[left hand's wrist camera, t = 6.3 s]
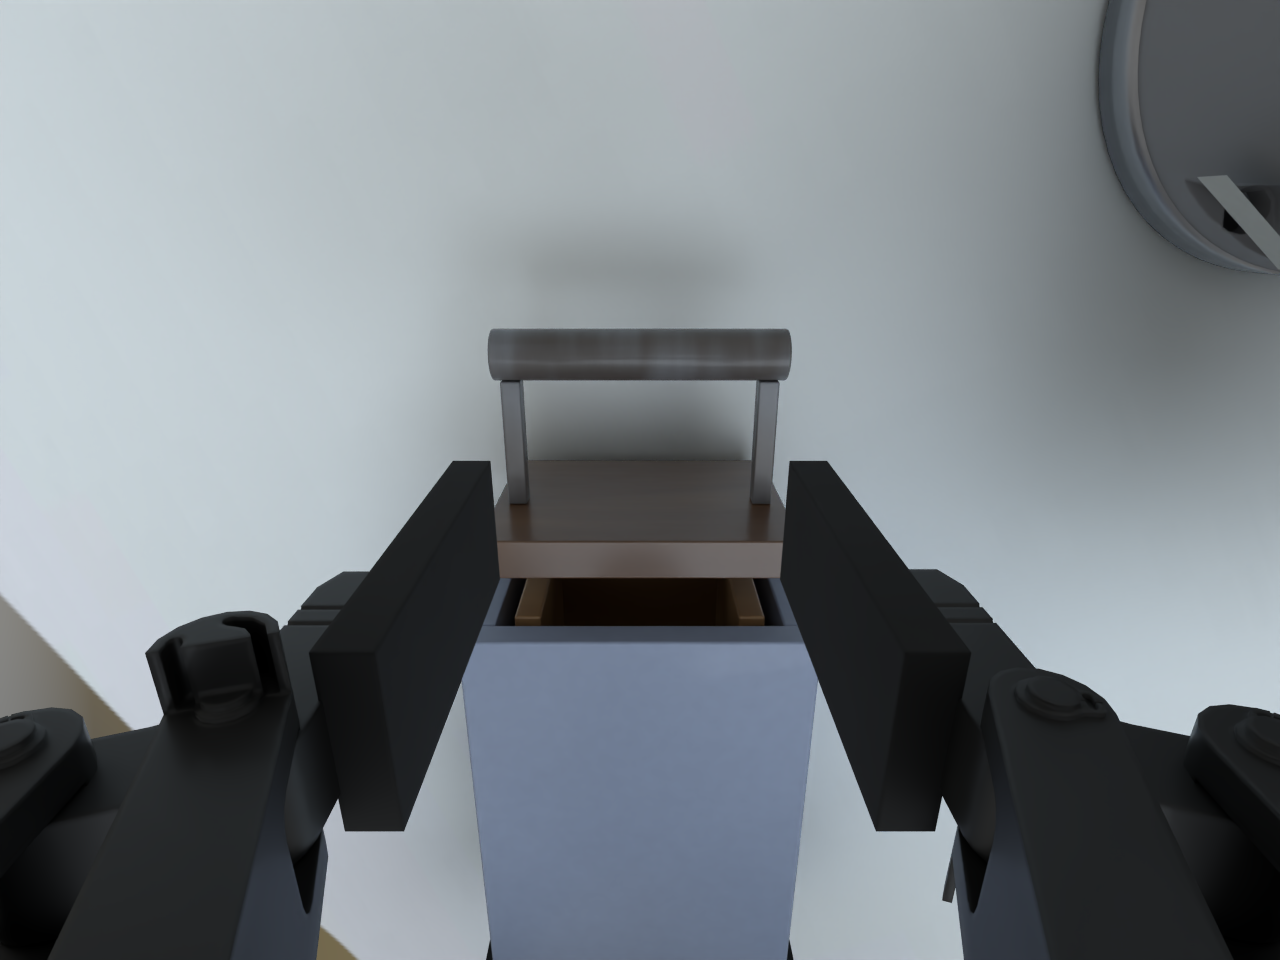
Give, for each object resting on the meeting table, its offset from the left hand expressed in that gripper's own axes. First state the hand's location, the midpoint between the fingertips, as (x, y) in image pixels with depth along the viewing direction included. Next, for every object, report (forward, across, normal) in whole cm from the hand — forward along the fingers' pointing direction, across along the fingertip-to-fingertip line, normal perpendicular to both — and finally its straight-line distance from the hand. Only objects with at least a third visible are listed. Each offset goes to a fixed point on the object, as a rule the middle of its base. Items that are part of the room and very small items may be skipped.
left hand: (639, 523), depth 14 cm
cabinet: (+12, 0, -16) cm, 20 cm away
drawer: (+11, 0, -10) cm, 15 cm away
